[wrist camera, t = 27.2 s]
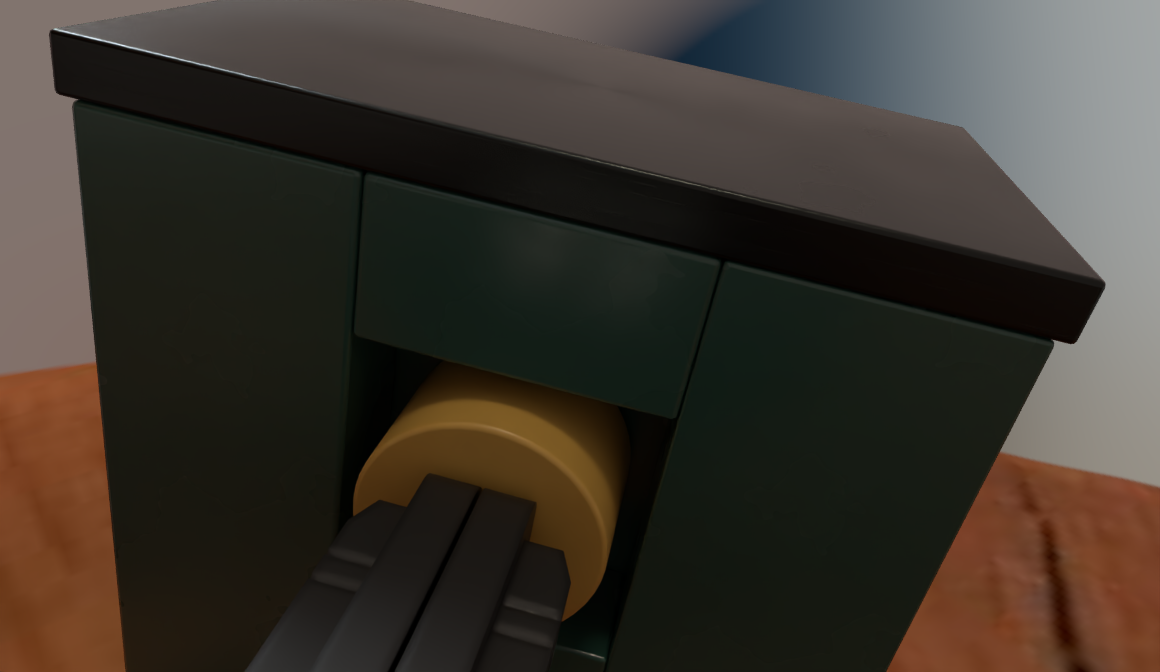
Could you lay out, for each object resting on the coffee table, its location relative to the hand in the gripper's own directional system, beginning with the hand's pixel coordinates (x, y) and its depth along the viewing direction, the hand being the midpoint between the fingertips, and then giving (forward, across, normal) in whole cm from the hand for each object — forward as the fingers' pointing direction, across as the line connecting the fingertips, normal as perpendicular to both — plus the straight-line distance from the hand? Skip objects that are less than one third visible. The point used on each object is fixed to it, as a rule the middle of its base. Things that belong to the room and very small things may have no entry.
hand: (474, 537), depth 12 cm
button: (+1, 0, +2) cm, 2 cm away
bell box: (+5, 0, +6) cm, 8 cm away
